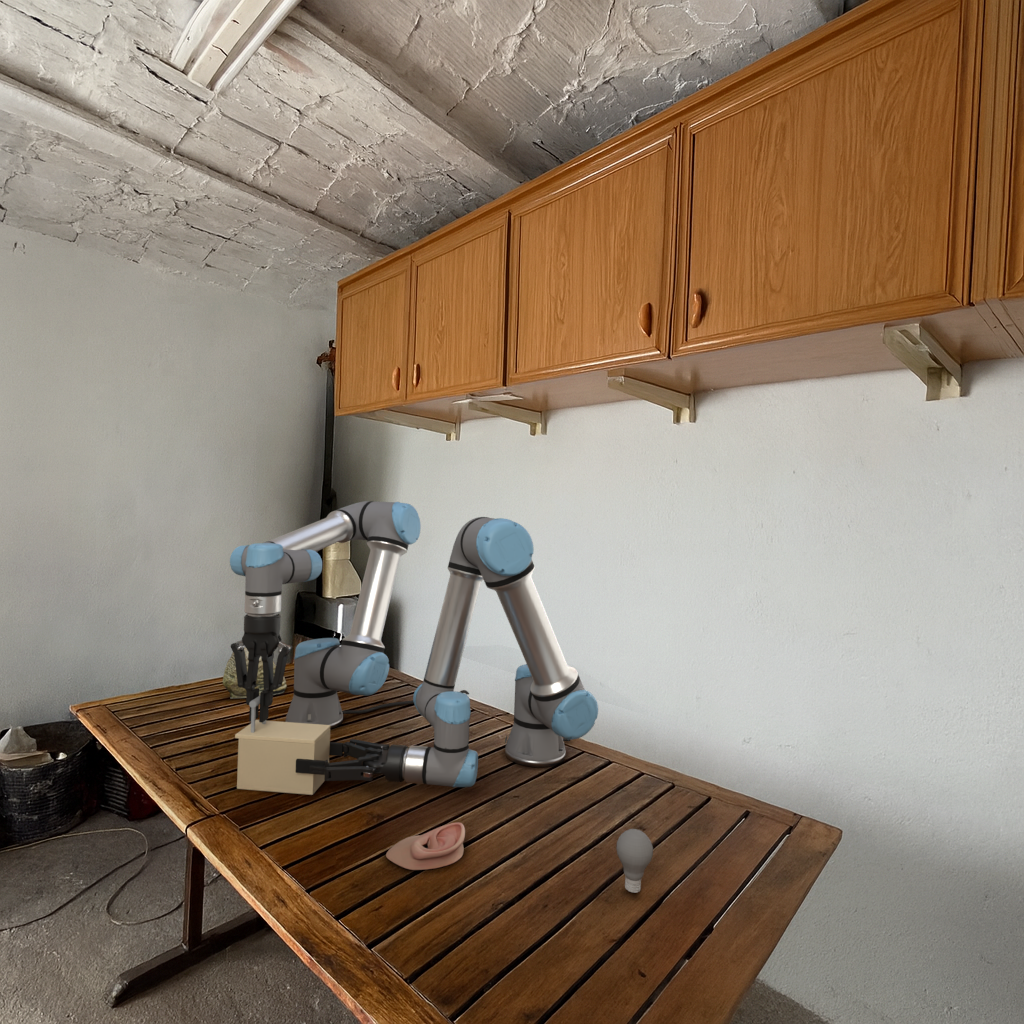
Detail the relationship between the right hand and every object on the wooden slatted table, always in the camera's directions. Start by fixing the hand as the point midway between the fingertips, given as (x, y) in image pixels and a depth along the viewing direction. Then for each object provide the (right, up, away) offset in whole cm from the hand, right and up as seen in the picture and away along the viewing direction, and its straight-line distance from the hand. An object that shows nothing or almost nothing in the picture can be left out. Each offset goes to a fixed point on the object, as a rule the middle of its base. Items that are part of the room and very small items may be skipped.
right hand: (305, 756), depth 139 cm
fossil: (-35, -4, +59) cm, 69 cm away
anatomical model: (+30, -8, -25) cm, 40 cm away
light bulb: (+65, -10, -33) cm, 74 cm away
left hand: (-11, +8, +1) cm, 13 cm away
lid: (-5, +5, 0) cm, 7 cm away
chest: (-5, -6, +1) cm, 8 cm away
